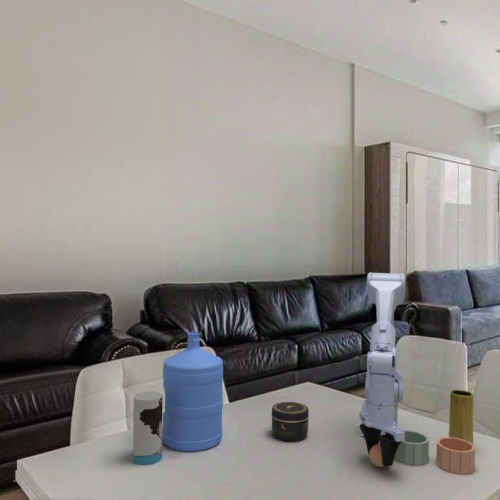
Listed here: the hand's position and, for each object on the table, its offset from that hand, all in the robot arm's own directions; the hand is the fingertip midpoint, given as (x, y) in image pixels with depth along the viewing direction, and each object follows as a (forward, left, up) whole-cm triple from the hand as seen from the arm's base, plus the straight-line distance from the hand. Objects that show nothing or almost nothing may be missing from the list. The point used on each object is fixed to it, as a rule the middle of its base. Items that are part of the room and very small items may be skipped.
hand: (380, 460), depth 111 cm
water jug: (-47, -6, -2) cm, 47 cm away
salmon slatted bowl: (+16, +8, -1) cm, 18 cm away
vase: (+17, +19, -2) cm, 26 cm away
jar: (-25, +8, -2) cm, 26 cm away
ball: (0, 0, +1) cm, 1 cm away
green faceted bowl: (+6, +8, -1) cm, 10 cm away
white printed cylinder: (-51, -20, -2) cm, 55 cm away
